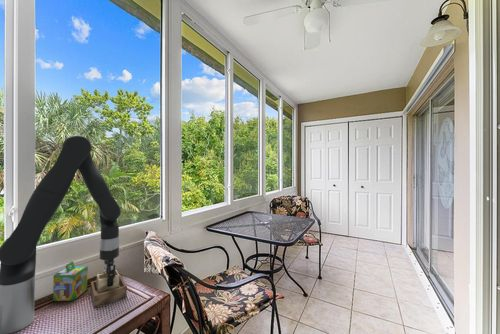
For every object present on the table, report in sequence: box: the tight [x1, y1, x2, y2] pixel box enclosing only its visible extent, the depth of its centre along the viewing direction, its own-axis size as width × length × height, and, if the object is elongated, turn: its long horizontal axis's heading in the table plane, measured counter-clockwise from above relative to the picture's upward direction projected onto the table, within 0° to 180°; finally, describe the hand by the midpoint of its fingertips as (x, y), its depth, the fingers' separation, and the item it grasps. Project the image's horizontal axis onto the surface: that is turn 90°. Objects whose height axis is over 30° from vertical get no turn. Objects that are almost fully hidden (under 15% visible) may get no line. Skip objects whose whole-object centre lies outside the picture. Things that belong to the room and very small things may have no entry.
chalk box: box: [52, 260, 89, 302], centre depth 99 cm, size 9×9×15 cm
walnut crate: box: [90, 273, 128, 309], centre depth 101 cm, size 12×14×5 cm
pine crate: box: [96, 269, 120, 294], centre depth 100 cm, size 8×6×6 cm
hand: (108, 282), depth 101 cm, fingers closed on pine crate, 6 cm apart
